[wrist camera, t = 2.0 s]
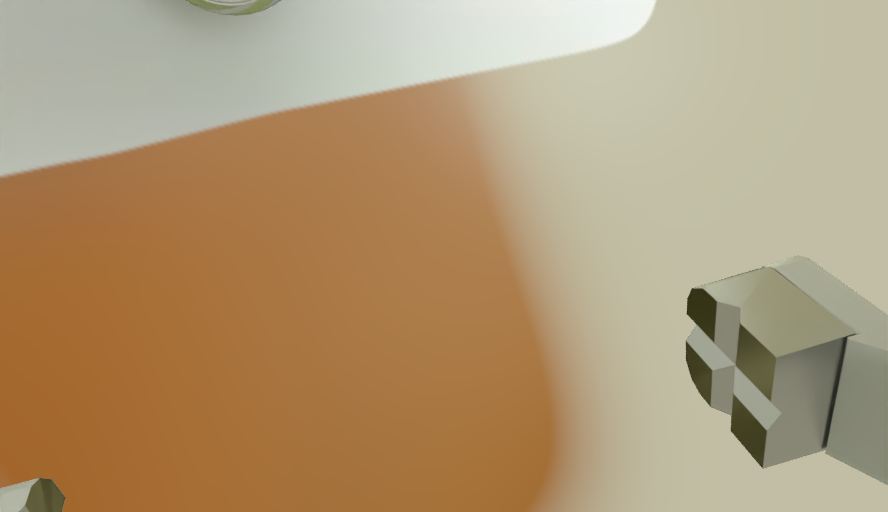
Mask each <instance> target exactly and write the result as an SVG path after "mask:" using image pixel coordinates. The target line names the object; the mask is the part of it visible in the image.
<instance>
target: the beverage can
mask: <svg viewBox="0 0 888 512" xmlns="http://www.w3.org/2000/svg"><path fill="white" fill-rule="evenodd" d="M187 1H189V2H190V3H192V4H193V5H196V6H198V7H200V8H203V9H205V10H207V11H211V12H215V13H219V14H226V15H245V14H252V13H255V12H259V11H262V10H265V9H267V8H269V7H271V6H273V5H275V4H276V3H278V2H279V1H280V0H187Z"/></svg>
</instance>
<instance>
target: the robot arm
mask: <svg viewBox="0 0 888 512" xmlns="http://www.w3.org/2000/svg"><path fill="white" fill-rule="evenodd" d="M687 315H688V316H689V317H690V318H691V319H692V320H693V321H694V322H695V323H696V326H695V327H694V329H693V330H692V332H691V334H690V335H689V336H688V338H687V340H686V361H687V365H688V368H689V372H690V375H691V378H692V381H693V382H694V384H695V386H696V388H697V389H698V391H699V393H700V394H701V396H702V397H703V398H704V399H705V400H706V402H707V403H708V404H709V405H710V407H712V408H715V409H717V410H720V411H722V412H724V413H727V414H729V415H731V432H732V433H733V434H734V435H735V436H736V438H737V439H738V440H739V441H740V442H741V444H742V445H743V446H744V447H745V448H746V449H747V451H748V452H749V453H750V454H751V455H752V457H753V458H754V459H755V460H756V461H757V462H758V464H759V465H760V466H761V467H762V468H766V467H769V466H773V465H777V464H780V463H783V462H786V461H790V460H793V459H797V458H800V457H803V456H807V455H810V454H813V453H817V452H820V451H823V450H826V454H828V455H830V456H832V457H833V458H835V459H837V460H840V461H841V462H844V463H845V464H847V465H849V466H851V467H853V468H855V469H857V470H859V471H861V472H863V473H865V474H867V475H869V476H871V477H873V478H875V479H877V480H879V481H881V482H883V483H885V484H887V485H888V315H887V314H886V313H884V312H883V311H881V310H880V309H879V308H877V307H876V306H875V305H873V304H872V303H870V302H869V301H868V300H866V299H865V298H863V297H862V296H861V295H859V294H858V293H856V292H855V291H854V290H852V289H851V288H849V287H848V286H847V285H845V284H844V283H842V282H841V281H840V280H838V279H837V278H835V277H834V276H833V275H831V274H830V273H828V272H827V271H826V270H824V269H823V268H822V267H820V266H819V265H817V264H816V263H815V262H813V261H812V260H810V259H808V258H805V257H801V256H794V257H791V258H788V259H785V260H782V261H778V262H775V263H772V264H769V265H766V266H763V267H762V268H760V269H755V270H752V271H748V272H745V273H742V274H738V275H735V276H732V277H728V278H725V279H722V280H718V281H715V282H712V283H708V284H705V285H701V286H698V287H695V288H692V289H691V292H690V294H689V296H688V298H687ZM64 501H65V496H64V495H63V494H62V492H61V491H60V490H59V488H58V487H57V486H56V484H55V483H54V482H53V481H52V480H51V479H44V478H38V479H35V480H31V481H27V482H24V483H20V484H16V485H12V486H8V487H4V488H1V489H0V512H62V509H63V505H64Z"/></svg>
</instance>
